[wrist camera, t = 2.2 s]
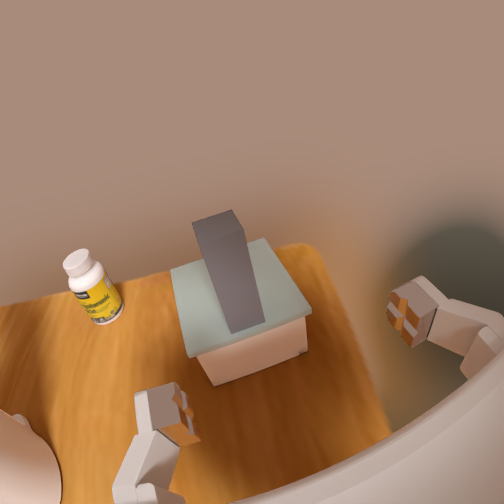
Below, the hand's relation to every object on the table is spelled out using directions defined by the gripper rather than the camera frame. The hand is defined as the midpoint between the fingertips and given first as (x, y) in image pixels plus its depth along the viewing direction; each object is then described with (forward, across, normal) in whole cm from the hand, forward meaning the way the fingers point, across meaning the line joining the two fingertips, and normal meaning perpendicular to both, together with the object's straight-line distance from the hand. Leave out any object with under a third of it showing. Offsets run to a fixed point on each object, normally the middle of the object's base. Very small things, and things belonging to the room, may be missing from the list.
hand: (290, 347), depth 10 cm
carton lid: (+16, +1, +11) cm, 20 cm away
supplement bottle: (+27, +18, +17) cm, 37 cm away
